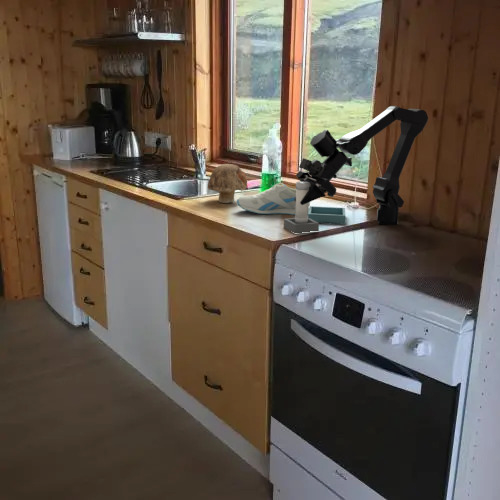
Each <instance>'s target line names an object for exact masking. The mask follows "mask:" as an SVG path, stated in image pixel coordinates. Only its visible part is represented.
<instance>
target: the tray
mask: <svg viewBox="0 0 500 500" xmlns="http://www.w3.org/2000/svg"><path fill="white" fill-rule="evenodd" d="M308 218H310V219H312V220H314V221H316V222H318V223H319V224H329V223H331V225H332V224H335V225H345V224H346V208H345V207H333V206H331V207H329V206H316V205H315V206H312V205H310V206H309V212H308Z"/></svg>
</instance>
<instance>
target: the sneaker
mask: <svg viewBox="0 0 500 500" xmlns="http://www.w3.org/2000/svg"><path fill="white" fill-rule="evenodd" d="M295 197H296V188H293V187H289V186H287V185H286V184H284V183H283V182H279V183H276V184H274V185H273V186H272V187H270V188H269V189H265V190H264V191H261V192H258V193H257V194H253V195H246V196H240V197H238V198H237V199H236V204H237V205H238V206H239V208H241V209H242V210H245V211H247V212H251V213H255V214H260V215H273V214H274V215H275V214H276V215H279V214H280V215H291V216H292V215H293V216H295V209H296V202H295V201H294V199H295ZM310 204H311V202H308V212H309V207H310V206H311V205H310Z"/></svg>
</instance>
